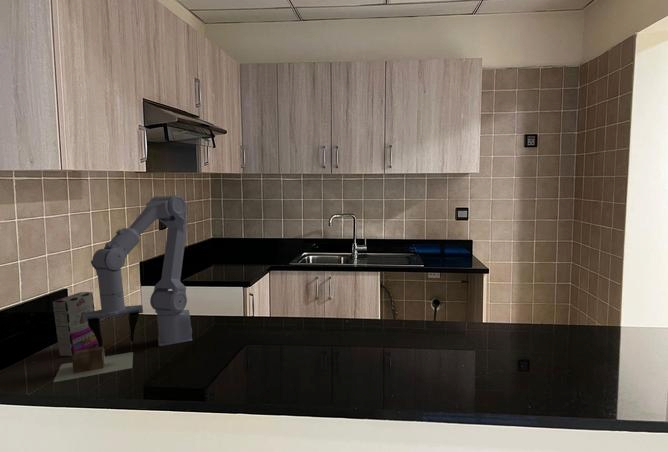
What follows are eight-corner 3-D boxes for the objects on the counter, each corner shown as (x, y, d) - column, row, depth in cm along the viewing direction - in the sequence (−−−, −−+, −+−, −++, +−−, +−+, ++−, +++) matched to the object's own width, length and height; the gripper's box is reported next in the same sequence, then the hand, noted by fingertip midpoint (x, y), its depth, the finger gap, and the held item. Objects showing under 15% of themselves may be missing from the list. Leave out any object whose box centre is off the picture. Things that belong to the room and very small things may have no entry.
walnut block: (103, 346, 131) (74, 351, 129) (102, 353, 126) (71, 358, 123) (105, 360, 132) (76, 365, 129) (103, 368, 126) (73, 373, 123)
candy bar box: (85, 343, 149) (79, 291, 148) (99, 344, 148) (93, 291, 147) (57, 356, 138) (51, 300, 137) (72, 357, 137) (66, 300, 136)
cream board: (133, 352, 138) (133, 351, 138) (132, 368, 125) (132, 367, 125) (61, 364, 131) (61, 364, 131) (53, 383, 118) (53, 382, 118)
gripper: (79, 300, 122) (85, 352, 123) (140, 292, 127) (145, 342, 129) (82, 295, 129) (87, 344, 130) (140, 287, 134) (145, 335, 135)
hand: (116, 343), depth 130 cm, fingers open, 7 cm apart
